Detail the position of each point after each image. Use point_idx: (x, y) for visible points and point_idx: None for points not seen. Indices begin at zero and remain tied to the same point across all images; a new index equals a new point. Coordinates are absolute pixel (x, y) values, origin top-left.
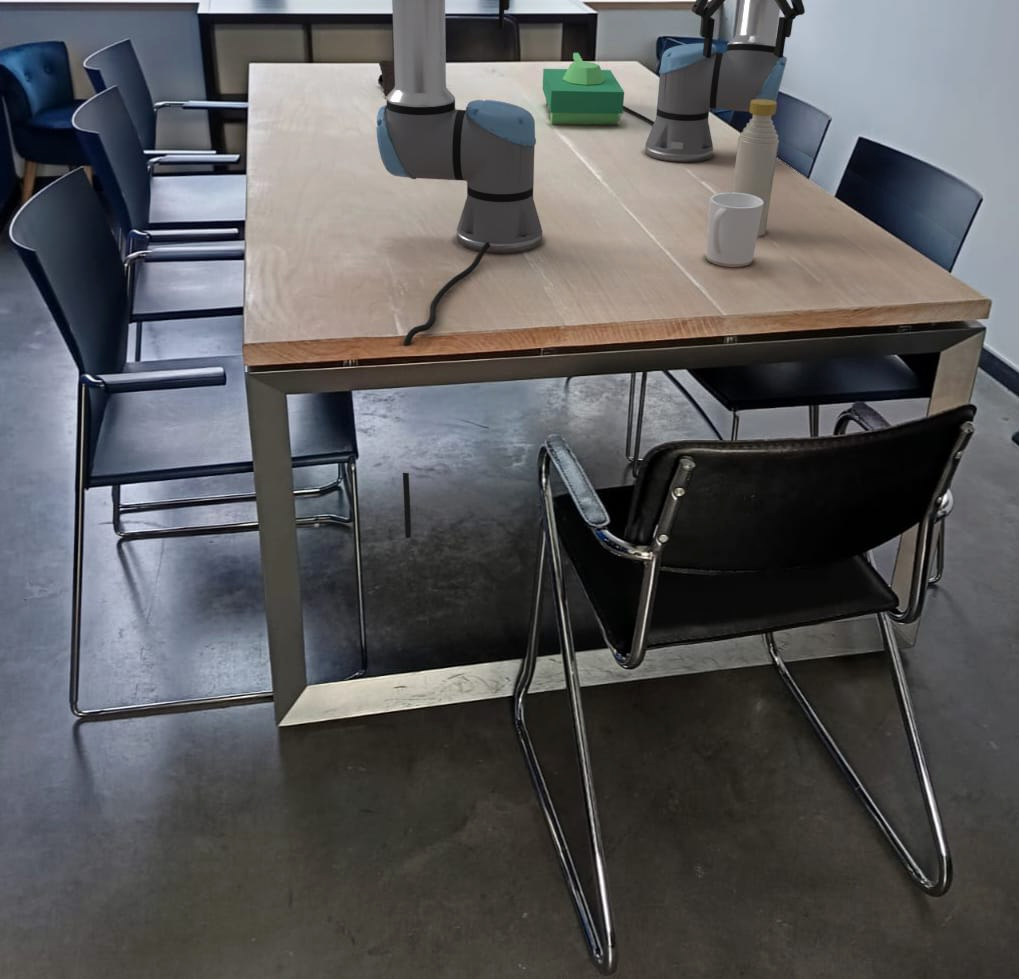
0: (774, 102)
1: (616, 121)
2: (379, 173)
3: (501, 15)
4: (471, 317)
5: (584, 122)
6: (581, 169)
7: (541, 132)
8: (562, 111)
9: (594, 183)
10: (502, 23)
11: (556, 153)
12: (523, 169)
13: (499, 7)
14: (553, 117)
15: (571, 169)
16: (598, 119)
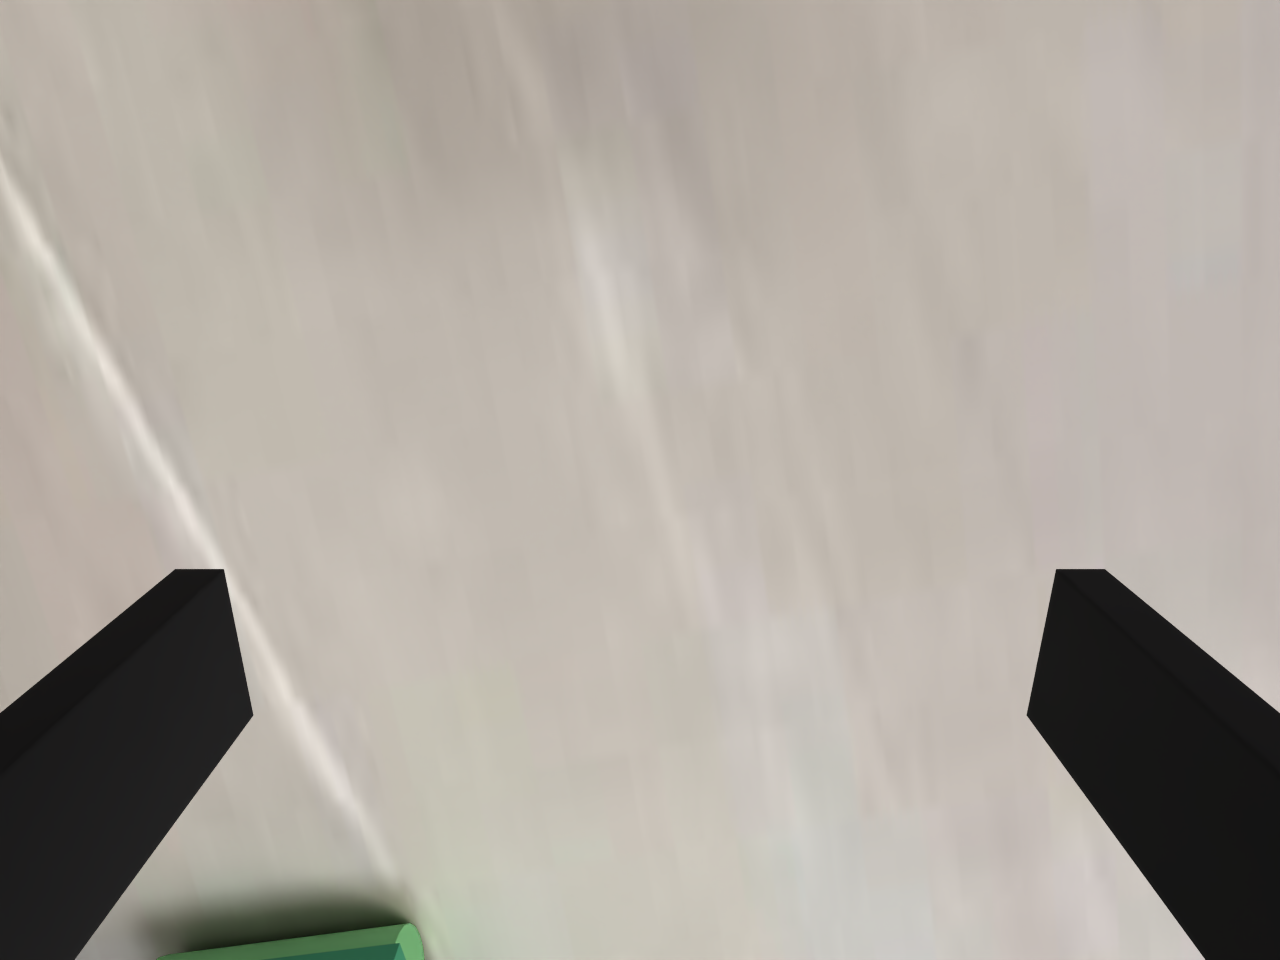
0: None
1: (167, 955)
2: (1030, 88)
3: (85, 659)
4: None
5: (288, 939)
6: (140, 346)
7: (434, 835)
8: (351, 953)
9: (15, 121)
10: (139, 603)
11: (307, 568)
12: None
13: (32, 731)
14: (395, 933)
15: (181, 338)
16: (229, 951)
